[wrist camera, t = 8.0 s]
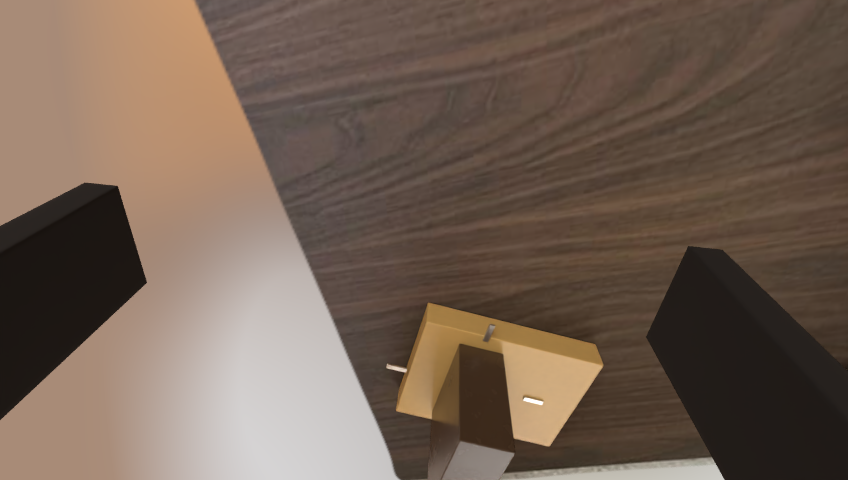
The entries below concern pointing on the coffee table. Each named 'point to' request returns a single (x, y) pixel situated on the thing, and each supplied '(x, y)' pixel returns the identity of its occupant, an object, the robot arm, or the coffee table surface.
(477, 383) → the lock turn
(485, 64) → the coffee table surface
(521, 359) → the plate
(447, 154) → the coffee table surface
